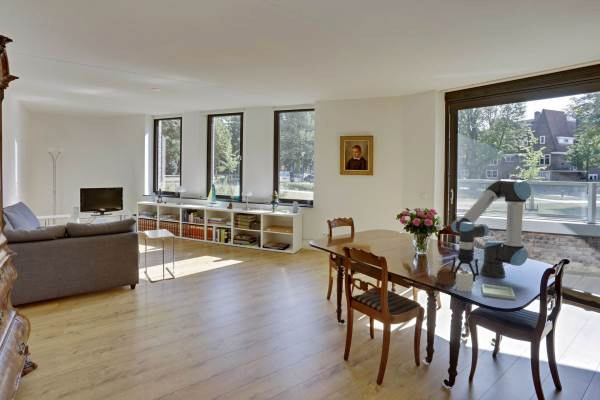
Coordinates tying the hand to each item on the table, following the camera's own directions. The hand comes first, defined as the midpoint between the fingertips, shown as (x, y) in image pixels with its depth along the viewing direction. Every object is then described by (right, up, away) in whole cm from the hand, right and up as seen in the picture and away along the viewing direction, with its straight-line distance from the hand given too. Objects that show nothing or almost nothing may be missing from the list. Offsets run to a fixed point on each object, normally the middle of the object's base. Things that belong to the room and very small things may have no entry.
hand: (464, 285), depth 227 cm
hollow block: (0, -2, 0) cm, 2 cm away
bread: (-3, -1, +15) cm, 15 cm away
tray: (+17, -3, -7) cm, 18 cm away
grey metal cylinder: (0, -2, 0) cm, 2 cm away
